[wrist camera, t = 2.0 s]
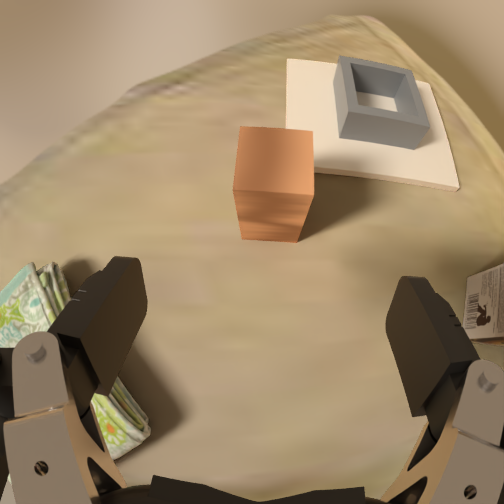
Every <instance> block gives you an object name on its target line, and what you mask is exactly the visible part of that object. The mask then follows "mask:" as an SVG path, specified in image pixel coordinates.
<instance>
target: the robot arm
mask: <svg viewBox="0 0 504 504" xmlns="http://www.w3.org/2000/svg"><path fill="white" fill-rule="evenodd" d="M146 312H147V295H146V290H145V285H144V279H143V274H142V268H141V263H140V261H139V259H138V258H132V257H120V256H115V257H113V258H112V259H111V261H110V262H109V263H108V264H107V266H106V267H105V268H104V269H103V271H100V270H99V271H98V272H96V273H95V274H93V275H92V276H90V277H89V278H87V279H86V280H85V282H84V283H83V284H82V285H81V287H80V288H79V289H78V292H76V293H75V294H74V296H73V297H72V300H71V301H69V302H68V303H67V305H66V306H65V307H64V309H63V310H62V311H61V313H60V314H59V315H58V317H57V318H56V319H55V321H54V322H53V323H52V325H51V326H50V328H49V329H48V330H47V332H45V331H39V332H34V333H31V334H29V335H27V336H25V337H24V338H22V339H21V340H20V341H19V342H18V343H17V345H16V346H15V348H0V500H1V497H2V494H3V491H4V487H5V485H6V482H7V479H8V476H9V473H10V478H11V483H12V488H13V492H14V497H15V500H16V504H504V371H503V370H502V369H501V368H500V367H499V366H498V365H496V364H495V363H493V362H491V361H488V360H481V359H480V357H479V356H478V354H477V352H476V350H475V348H474V346H473V344H472V342H471V341H470V339H469V337H468V335H467V333H466V332H465V330H464V328H463V327H461V323H460V321H459V319H458V318H457V317H456V314H455V313H454V311H453V309H452V308H451V306H450V304H449V303H448V302H447V301H446V300H445V299H443V298H442V297H441V296H440V295H439V294H438V293H435V291H434V290H433V288H432V286H431V285H430V283H429V282H428V280H427V279H426V278H425V277H412V276H403V277H401V279H400V280H399V283H398V285H397V288H396V291H395V294H394V297H393V300H392V303H391V306H390V308H389V311H388V314H387V317H386V333H387V337H388V339H389V342H390V345H391V348H392V351H393V354H394V357H395V360H396V364H397V367H398V370H399V373H400V376H401V379H402V383H403V386H404V389H405V393H406V396H407V400H408V403H409V407H410V410H411V414H412V417H417V416H424V415H427V419H428V422H427V423H426V424H425V425H424V427H423V429H422V431H421V433H420V436H419V438H418V440H417V442H416V444H415V446H414V448H413V450H412V452H411V454H410V456H409V458H408V460H407V462H406V464H405V465H404V467H403V469H402V471H401V473H400V474H399V476H398V477H397V479H396V480H395V481H394V483H393V484H392V485H391V486H390V487H389V488H388V489H387V491H386V492H385V493H384V495H383V496H382V497H381V499H380V500H378V499H374V498H369V497H365V492H364V487H356V488H346V489H333V490H314V491H311V492H307V493H303V494H298V495H294V496H290V497H285V498H280V499H275V500H270V501H264V502H256V501H252V500H248V499H245V498H242V497H238V496H235V495H232V494H229V493H226V492H223V491H220V490H217V489H215V488H212V487H209V486H207V485H204V484H197V483H191V482H185V481H180V480H175V479H170V478H165V477H160V476H156V475H153V478H152V482H151V485H138V486H131V487H127V484H126V482H125V480H124V479H123V477H122V475H121V473H120V471H119V470H118V468H117V467H116V465H115V463H114V462H113V460H112V458H111V455H110V453H109V450H108V448H107V445H106V442H105V440H104V437H103V434H102V431H101V428H100V426H99V423H98V420H97V417H96V413H95V410H94V407H93V405H92V403H91V400H92V398H93V395H94V393H96V394H99V395H103V396H107V397H108V396H109V394H110V392H111V389H112V387H113V385H114V383H115V380H116V378H117V376H118V374H119V371H120V369H121V367H122V365H123V363H124V360H125V358H126V356H127V354H128V352H129V350H130V348H131V345H132V343H133V341H134V339H135V337H136V335H137V333H138V331H139V329H140V327H141V325H142V322H143V320H144V318H145V316H146Z"/></svg>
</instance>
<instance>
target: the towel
mask: <svg viewBox="0 0 504 504" xmlns="http://www.w3.org/2000/svg"><path fill="white" fill-rule="evenodd" d="M69 301H71V298H70V294H69V290H68V287H67V281H66V278H65V277H64V273H63V271H62V270H60V268H59V266H58V264H57V263H55V262H51V263H50V264H47V265H45V266H43V267H42V268H41V269H39V270H38V271H36V267H35V264H34V263H33V262H32V263H29V264H27V265H26V266H25V267H24V268H23V269H21V270H20V271H19V272H18V273H17V275H16V276H15V277H14V278H13V279H12V280H11V281H10V282H9V284H8V285H7V286H6V287H5V288H4V289H3V290H2V291H1V292H0V348H15V346H16V345H17V343H18V342H19V341H20V340H21V339H22V338H24V337H25V336H27V335H29V334H31V333H34V332H39V331H45V332H47V330H48V329H49V328H50V326H51V325H52V323H53V322H54V321H55V319H56V318H57V317H58V315H59V314H60V313H61V311H62V310H63V309H64V307H65V306H66V305H67V303H68V302H69ZM91 403H92V405H93V407H94V410H95V413H96V417H97V420H98V423H99V426H100V428H101V431H102V434H103V437H104V440H105V442H106V445H107V448H108V450H109V453H110V455H111V458H112V460H115V459H117V458H119V457H121V456H122V455H124V454H126V453H127V452H129V451H130V450H132V449H133V448H135V447H137V446H138V445H140V444H141V443H143V441H144V440H145V439H146V438H147V437H149V436H150V434H151V428H150V427H149V426H148V421H149V419H148V417H147V415H146V414H145V413H144V412H143V411H142V410H141V409H140V407H139V405H138V404H137V403H136V401H135V400H134V399H133V398H132V396H131V395H130V393H129V392H128V391H127V389H126V388H125V386H124V385H123V383H122V382H121V380H120V379H119V377H118V376H117V378H116V380H115V383H114V385H113V387H112V389H111V392H110V394H109V396H108V397H107V396H103V395H99V394H96V393H94V395H93V398H92V400H91ZM8 480H9V482H10V483H11V478H10V473H9V476H8ZM11 484H12V483H11Z"/></svg>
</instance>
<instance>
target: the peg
mask: <svg viewBox="0 0 504 504" xmlns="http://www.w3.org/2000/svg"><path fill="white" fill-rule="evenodd" d="M233 194H234V199H235V204H236V210H237V215H238V221H239V226H240V231H241V237H242V239H247V240H262V241H278V242H293V243H297V241H298V238H299V235H300V233H301V230H302V227H303V224H304V222H305V219H306V216H307V213H308V211H309V208H310V205H311V202H312V200H313V197H314V151H313V131H307V130H295V129H282V128H266V127H242V126H240V133H239V141H238V149H237V158H236V166H235V175H234V183H233Z"/></svg>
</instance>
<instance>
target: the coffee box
mask: <svg viewBox="0 0 504 504" xmlns="http://www.w3.org/2000/svg"><path fill="white" fill-rule="evenodd" d="M462 327H463V328H464V330H465V332H466V333H467V335H468V337H469V339H470V341H471V342H472V343H480V344H489V345H498V346H504V263H503V264H500V265H498V266H495V267H492V268H490V269H488V270H485V271H482V272H480V273H477V274H474V275H472V276H469V277H468V278H467V286H466V299H465V309H464V318H463V326H462Z"/></svg>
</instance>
